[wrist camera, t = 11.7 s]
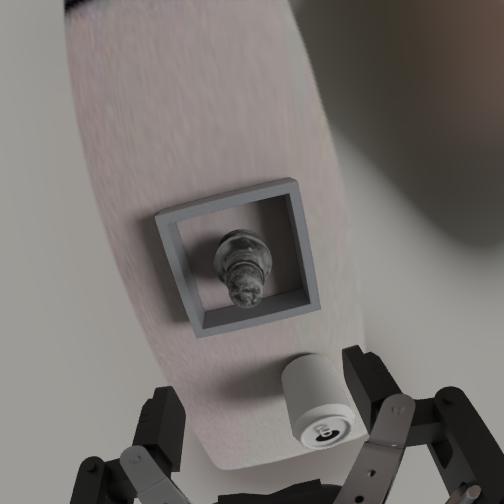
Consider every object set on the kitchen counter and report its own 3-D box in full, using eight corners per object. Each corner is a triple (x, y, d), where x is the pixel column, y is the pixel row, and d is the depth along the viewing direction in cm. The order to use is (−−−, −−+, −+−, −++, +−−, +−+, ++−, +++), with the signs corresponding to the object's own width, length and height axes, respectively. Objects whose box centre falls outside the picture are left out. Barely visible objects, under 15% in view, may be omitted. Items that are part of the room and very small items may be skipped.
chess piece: (239, 286, 36) (243, 347, 24) (204, 250, 34) (191, 299, 23) (278, 254, 35) (301, 303, 24) (244, 215, 33) (251, 249, 22)
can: (288, 396, 42) (303, 460, 31) (272, 362, 40) (286, 429, 28) (336, 379, 42) (362, 439, 30) (325, 342, 39) (354, 404, 28)
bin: (163, 209, 33) (154, 216, 29) (289, 177, 32) (297, 180, 29) (199, 320, 37) (196, 338, 33) (312, 293, 37) (321, 309, 33)
